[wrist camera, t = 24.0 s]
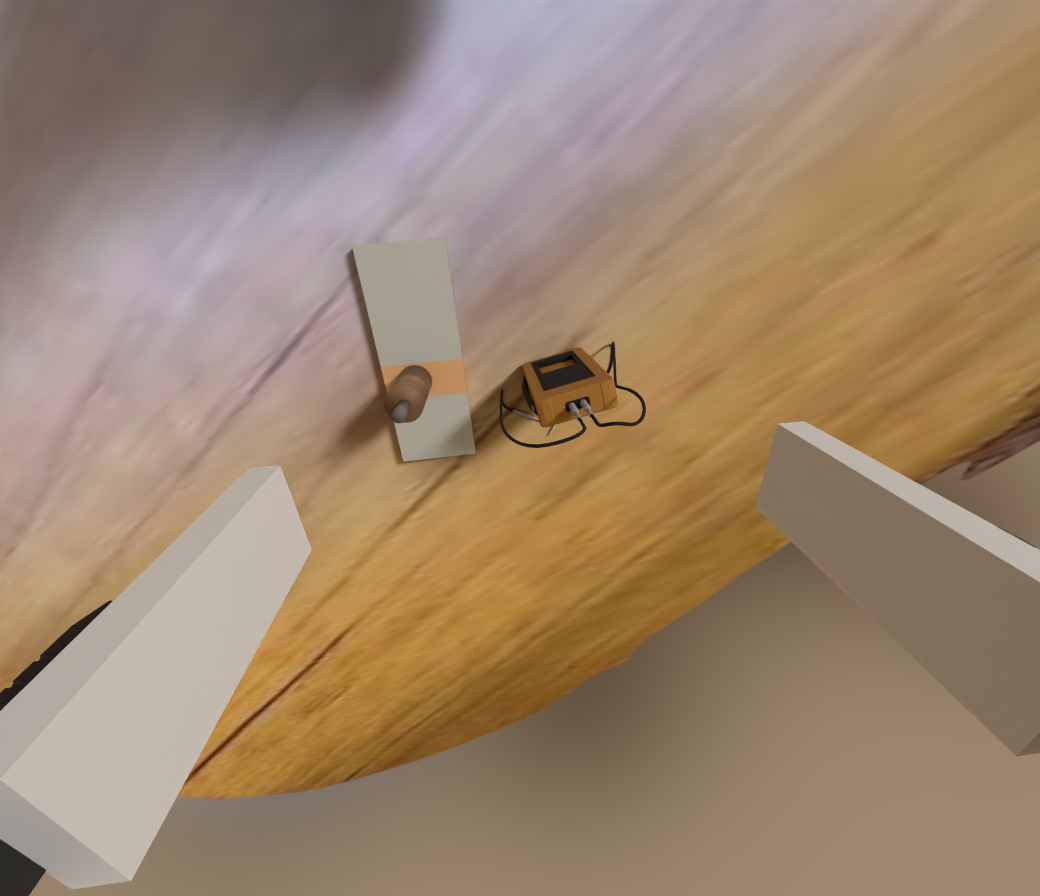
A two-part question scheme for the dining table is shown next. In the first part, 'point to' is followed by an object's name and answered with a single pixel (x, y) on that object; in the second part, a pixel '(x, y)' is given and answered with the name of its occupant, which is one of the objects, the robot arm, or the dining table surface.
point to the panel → (419, 339)
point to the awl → (408, 394)
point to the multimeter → (568, 391)
